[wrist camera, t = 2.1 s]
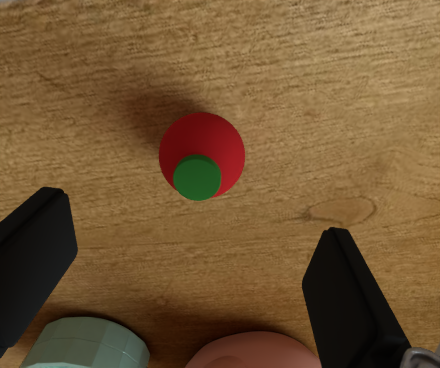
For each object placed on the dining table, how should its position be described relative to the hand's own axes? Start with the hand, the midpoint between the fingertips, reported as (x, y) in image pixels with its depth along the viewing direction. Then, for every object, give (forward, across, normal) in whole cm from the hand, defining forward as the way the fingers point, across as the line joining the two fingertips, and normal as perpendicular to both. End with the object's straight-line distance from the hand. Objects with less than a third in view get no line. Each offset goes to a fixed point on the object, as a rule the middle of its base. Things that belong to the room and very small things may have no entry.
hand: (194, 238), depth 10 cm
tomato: (+9, 0, 0) cm, 9 cm away
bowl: (+9, +10, +27) cm, 30 cm away
